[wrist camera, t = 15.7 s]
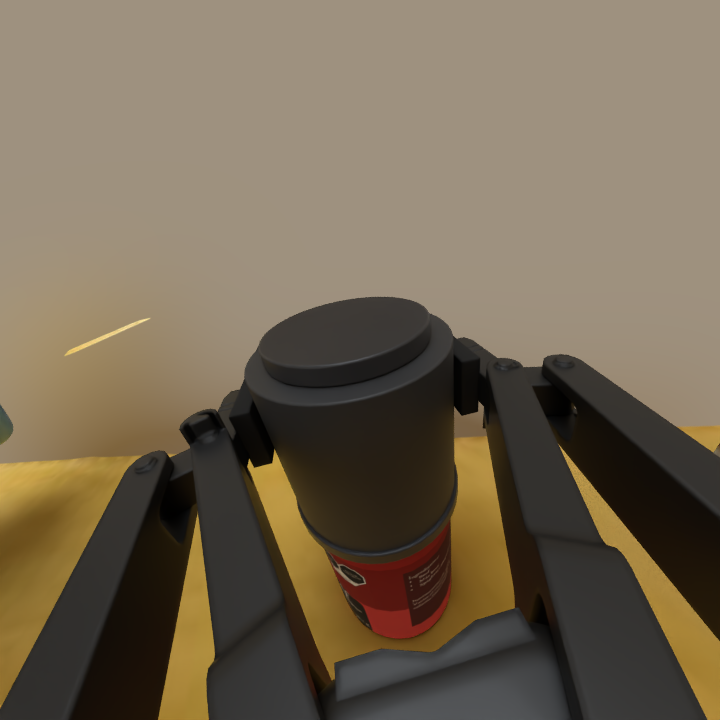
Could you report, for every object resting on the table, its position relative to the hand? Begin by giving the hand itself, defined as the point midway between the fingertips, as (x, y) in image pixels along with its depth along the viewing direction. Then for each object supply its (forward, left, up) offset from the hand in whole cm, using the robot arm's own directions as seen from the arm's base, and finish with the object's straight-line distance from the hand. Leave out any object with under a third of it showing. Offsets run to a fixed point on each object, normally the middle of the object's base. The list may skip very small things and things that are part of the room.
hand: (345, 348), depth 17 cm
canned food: (+3, -3, -17) cm, 18 cm away
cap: (+3, -3, -6) cm, 8 cm away
